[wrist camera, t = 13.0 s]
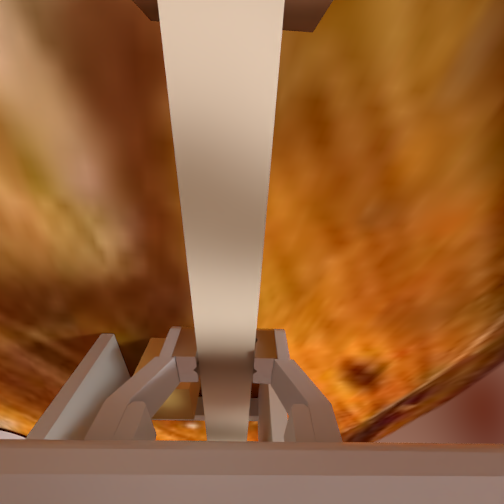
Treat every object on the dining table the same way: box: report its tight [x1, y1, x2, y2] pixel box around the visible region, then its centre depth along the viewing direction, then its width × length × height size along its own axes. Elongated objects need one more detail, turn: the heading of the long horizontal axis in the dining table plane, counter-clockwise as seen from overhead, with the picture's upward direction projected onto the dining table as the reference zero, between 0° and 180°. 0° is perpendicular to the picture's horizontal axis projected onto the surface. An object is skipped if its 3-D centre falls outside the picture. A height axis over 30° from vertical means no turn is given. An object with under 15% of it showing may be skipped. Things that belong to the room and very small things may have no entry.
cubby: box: [25, 334, 288, 442], centre depth 19 cm, size 12×17×14 cm
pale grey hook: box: [133, 0, 333, 441], centre depth 11 cm, size 35×12×3 cm, turn 177°
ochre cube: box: [133, 338, 201, 419], centre depth 21 cm, size 5×5×5 cm
